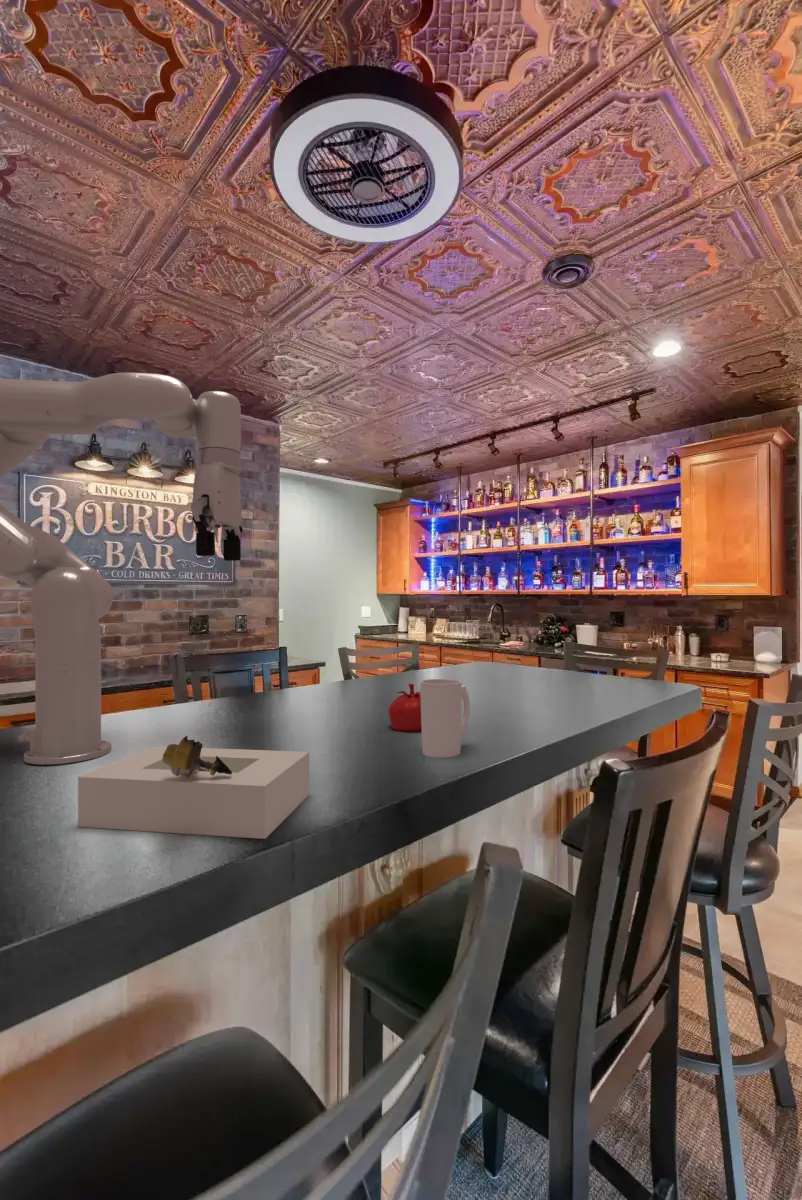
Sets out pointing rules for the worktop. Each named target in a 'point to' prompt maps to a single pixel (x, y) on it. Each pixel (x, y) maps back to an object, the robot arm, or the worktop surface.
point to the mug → (443, 716)
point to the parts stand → (196, 793)
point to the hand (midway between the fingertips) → (219, 558)
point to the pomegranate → (406, 712)
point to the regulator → (190, 759)
